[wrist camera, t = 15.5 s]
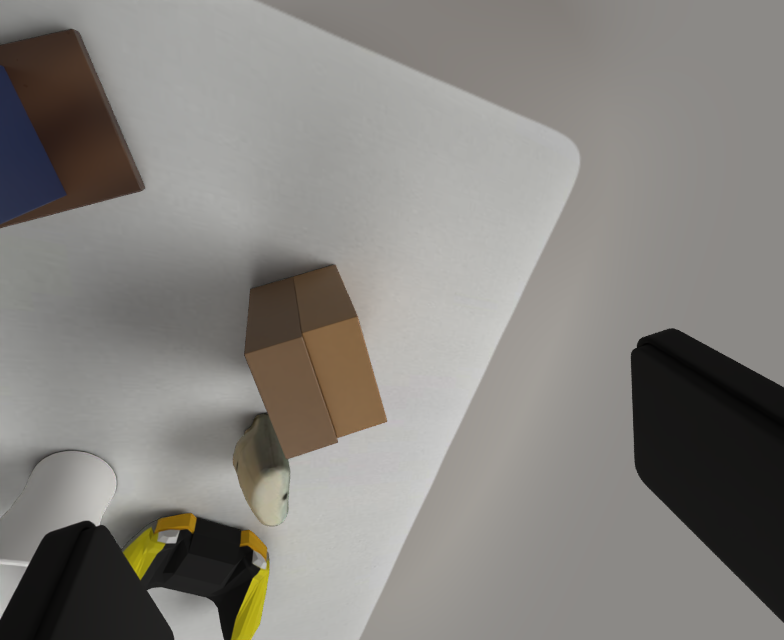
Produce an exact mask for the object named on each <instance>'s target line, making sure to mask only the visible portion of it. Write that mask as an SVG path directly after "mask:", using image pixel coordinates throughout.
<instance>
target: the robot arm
mask: <svg viewBox="0 0 784 640" xmlns="http://www.w3.org/2000/svg"><path fill="white" fill-rule="evenodd" d="M631 375H632V403H633V430H634V458H635V467H636V470H637V473H638V475H639V477H640V478H641V480H642V481H643V482H644V483H645V485H646V486H647V487H648V488H649V489H650V490H651V491H652V492H653V493H654V494H655V495H656V496H657V497H658V498H659V499H660V500H662V501H663V503H664V504H665V505H667V507H669V509H670V510H671V511H672V512H673V513H674V514H675V515H676V516H677V517H678V518H679V519H680V520H681V521H682V522H683V523H684V524H685V525H686V526H687V527H688V528H689V529H690V530H692V532H693V533H694V534H696V536H697V537H698V538H699V539H700V540H701V541H702V542H704V544H705V545H706V546H707V547H708V548H709V549H710V550H711V551H712V552H713V553H714V554H715V555H717V557H719V558H720V560H721V561H722V562H723V563H724V564H725V565H726V566H727V567H728V568H729V569H730V570H731V571H732V572H734V574H735V575H736V576H738V577H739V579H740V580H741V581H742V582H744V583H745V585H746V586H747V587H749V589H750V590H751V591H753V593H754V594H756V596H758V597H759V599H760V600H761V601H762V602H763V603H765V604H766V606H767V607H768V608H770V610H772V612H774V614H775V615H776V616H777V617H778V618H779V619H781V620H782V621H783V622H784V387H782V386H780V385H778V384H777V383H775V382H773V381H771V380H769V379H767V378H765V377H764V376H762V375H760V374H758V373H756V372H755V371H753V370H751V369H749V368H747V367H745V366H744V365H741V364H740V363H738V362H736V361H734V360H733V359H731V358H729V357H727V356H725V355H723V354H722V353H719V352H718V351H716V350H714V349H712V348H710V347H709V346H707V345H705V344H703V343H701V342H699V341H698V340H696V339H694V338H692V337H690V336H688V335H687V334H685V333H683V332H681V331H679V330H676V329H673V328H672V329H667V330H664V331H661V332H658V333H655V334H652V335H648V336H646V337H642V338H641V339H640V340H639V341H638V343H637V348H635V349H634V350H633V351H632V353H631ZM0 640H174V636H173V632H172V630H171V628H170V626H169V625H168V623H167V622H166V620H165V618H164V617H163V615H162V614H161V612H160V611H159V609H158V607H157V606H156V604H155V603H154V601H153V599H152V598H151V596H150V595H149V593H148V592H147V590H146V588H145V587H144V585H143V584H142V582H141V580H140V579H139V577H138V576H137V574H136V573H135V571H134V569H133V568H132V566H131V565H130V563H129V561H128V560H127V558H126V557H125V555H124V554H123V552H122V550H121V549H120V547H119V546H118V544H117V542H116V541H115V539H114V538H113V536H112V535H111V533H110V531H109V530H108V529H107V528H106V527H105V526H103V525H99V526H95V524H94V523H92V522H91V521H82V522H79V523H76V524H73V525H70V526H67V527H63V528H60V529H57V530H54V531H51V532H49V533H47V534H46V535H45V536H44V537H43V539H42V540H41V542H40V544H39V546H38V548H37V550H36V552H35V553H34V555H33V557H32V559H31V561H30V563H29V565H28V567H27V569H26V571H25V573H24V574H23V576H22V578H21V580H20V582H19V584H18V586H17V588H16V590H15V592H14V594H13V596H12V597H11V599H10V601H9V603H8V605H7V607H6V609H5V611H4V613H3V615H2V617H1V619H0Z"/></svg>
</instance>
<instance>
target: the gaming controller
mask: <svg viewBox="0 0 784 640" xmlns="http://www.w3.org/2000/svg"><path fill="white" fill-rule="evenodd" d="M122 552H123V554H124V555H125V557H126V558H127V560H128V561H129V563H130V565H131V566H132V568H133V569H134V571H135V573H136V574H137V576H138V577H139V579H140V580H141V582H142V584H143V585H144V587H145V588H146V590H148V589H151V588H156V587H163V588H168V589H172V590H176V591H181V592H185V593H190V594H194V595H198V596H203V597H207V598H208V599H210V600H212V601H213V602H214V603H215V605H216V606H217V607H218V612H219V618H220V624H221V629H222V633H223V637H224V640H251V638H252V637H253V635H254V633H255V632H256V630H257V628H258V627H259V625H260V621H261V616H262V611H263V605H264V600H265V595H266V590H267V583H268V577H269V553H268V552H267V547H266V546H265V545H264V543H263V542H262V541H261V540H260V539H259V538H258V537H257V536H256V535H255V534H254V533H253V532H252V531H250V530H245V531H241V530H239V529H235V528H232V527H228V526H225V525H221V524H218V523H214V522H211V521H207V520H204V519H200V518H196V517H195V516H194V515H193V514H192V513H187V514H180V515H175V516H171V517H164V518H160V519H158V520H157V521H154V522H152V523H150V524H149V525H147V526H146V527H145V528H143V529H142V530H141V531H140V532H139V533H138V534H137V535H136V536H134V537H133V538H132V539H131V540H130V541H129V542H128V543H127V544H126V545H125V546H124V547H123V549H122Z"/></svg>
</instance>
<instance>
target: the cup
mask: <svg viewBox="0 0 784 640" xmlns="http://www.w3.org/2000/svg"><path fill="white" fill-rule="evenodd" d="M116 487H117V482H116V476H115V474H114V472H113V469H112V468H111V467H110V466H109V465H108V464H107V463H106V462H105V461H103V460H102V459H100V458H99V457H97V456H95V455H92V454H89V453H86V452H80V451H63V452H59V453H55V454H52V455H50V456H48V457H46V458H44V459H43V460H42V461H40V462H39V463H38V464H37V465H36V467H35V468H34V470H33V471H32V473H31V475H30V477H29V480H28V482H27V484H26V486H25V488H24V490H23V492H22V493H21V495H20V496H19V497H18V499H17V500H16V501H15V503H14V504H13V505H12V507H11V508H10V509H9V510H8V511H7V512H6V513H5V514H4V515H3V516H2V517H1V518H0V619H1V617H2V615H3V613H4V611H5V609H6V607H7V605H8V603H9V601H10V599H11V597H12V596H13V594H14V592H15V590H16V588H17V586H18V584H19V582H20V580H21V578H22V576H23V574H24V573H25V571H26V569H27V567H28V565H29V563H30V561H31V559H32V557H33V555H34V553H35V552H36V550H37V548H38V546H39V544H40V542H41V540H42V539H43V537H44V536H45V535H46V534H47V533H49V532H51V531H54V530H57V529H60V528H63V527H67V526H70V525H73V524H76V523H79V522H82V521H91V522H92V523H94V524H95V526H99V525H100V522H101V519H102V516H103V513H104V511H105V510H106V508H107V506H108V504H109V502H110V501H111V499H112V497H113V495H114V494H115V490H116Z"/></svg>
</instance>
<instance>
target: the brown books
mask: <svg viewBox="0 0 784 640" xmlns="http://www.w3.org/2000/svg"><path fill="white" fill-rule="evenodd" d="M244 355H245V358H246V360H247V363H248V365H249V368H250V370H251V373H252V375H253V378H254V380H255V383H256V385H257V388H258V390H259V393H260V395H261V398H262V400H263V403H264V405H265V408H266V410H267V413H268V415H269V418H270V420H271V423H272V425H273V428H274V430H275V433H276V435H277V438H278V440H279V443H280V445H281V448H282V450H283V453H284V455H285V458H286V459H290V458H293V457H296V456H299V455H302V454H305V453H308V452H311V451H314V450H317V449H320V448H323V447H326V446H329V445H332V444H335V443H338V440H337V438H339V437H342V436H345V435H348V434H351V433H354V432H357V431H360V430H363V429H366V428H369V427H372V426H376V425H379V424H382V423H385V422H387V418H386V415H385V411H384V407H383V404H382V400H381V397H380V393H379V390H378V386H377V383H376V379H375V376H374V372H373V369H372V365H371V362H370V358H369V354H368V351H367V347H366V344H365V340H364V337H363V333H362V330H361V326H360V323H359V319H358V316H357V314H356V311H355V309H354V307H353V304H352V302H351V300H350V297H349V295H348V293H347V290H346V288H345V286H344V283H343V281H342V279H341V276H340V274H339V272H338V269H337V267H336V265H331V266H328V267H324V268H321V269H317V270H314V271H311V272H307V273H304V274H300V275H297V276H294V277H290V278H286V279H283V280H280V281H276V282H273V283H269V284H266V285H262V286H259V287H255V288H252V289H250V298H249V309H248V320H247V330H246V341H245V351H244Z"/></svg>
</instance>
